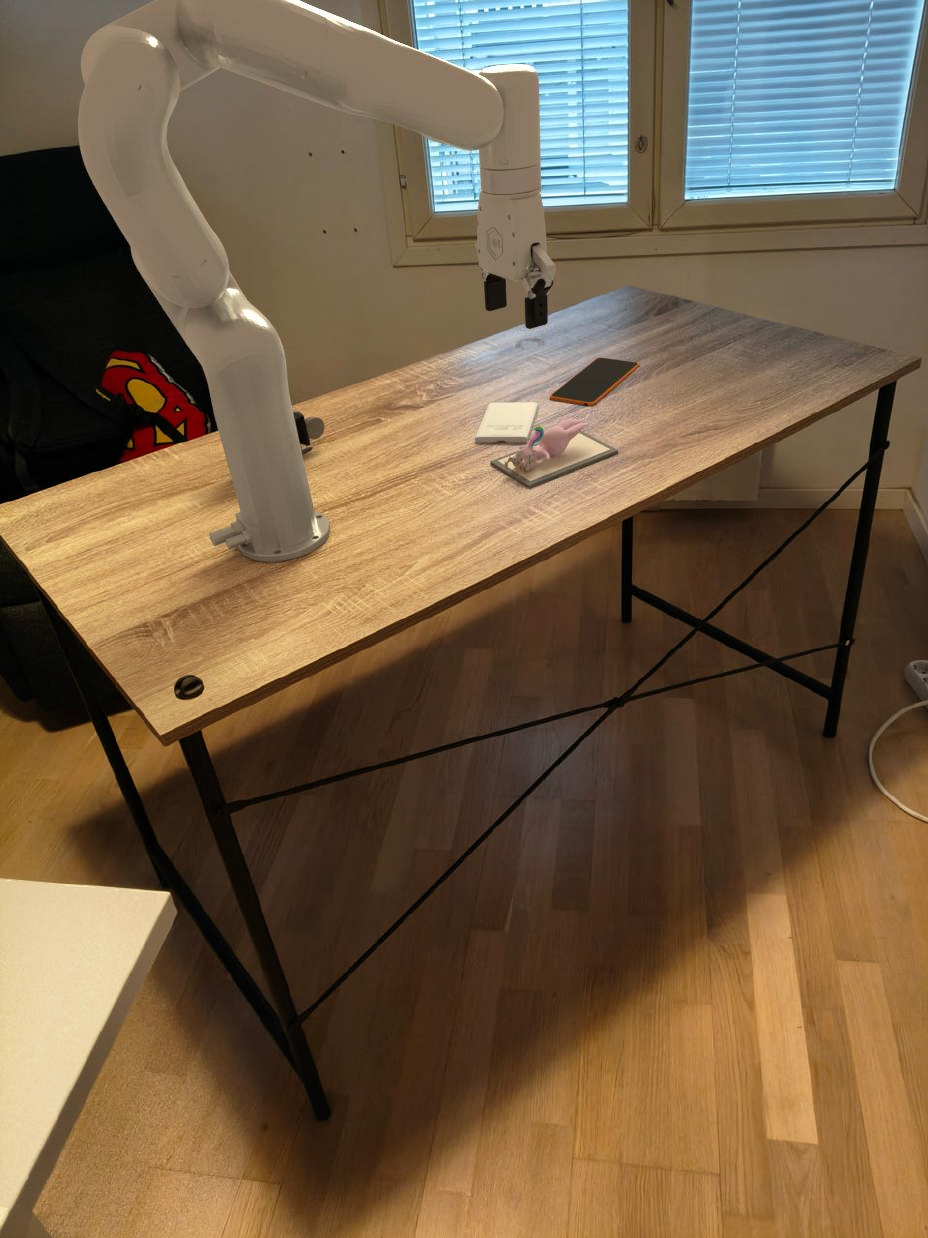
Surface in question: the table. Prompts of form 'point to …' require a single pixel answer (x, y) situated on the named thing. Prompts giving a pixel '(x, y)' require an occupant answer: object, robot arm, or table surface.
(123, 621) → the table surface
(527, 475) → the mat
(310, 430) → the figurine character
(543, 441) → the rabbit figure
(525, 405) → the external hard drive
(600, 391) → the smartphone
